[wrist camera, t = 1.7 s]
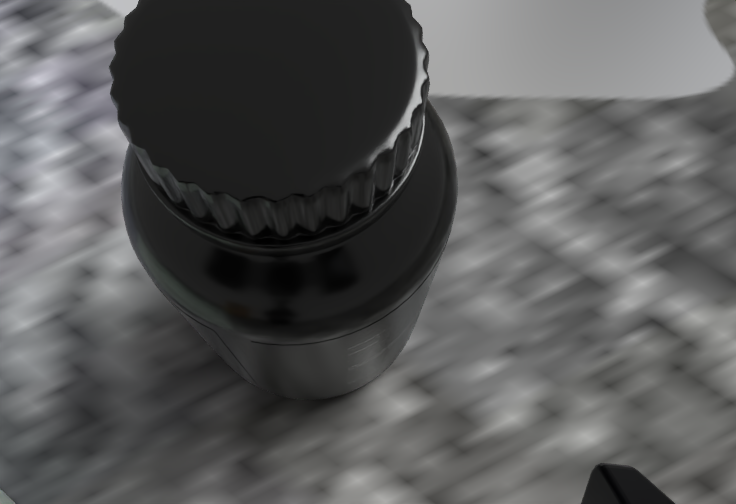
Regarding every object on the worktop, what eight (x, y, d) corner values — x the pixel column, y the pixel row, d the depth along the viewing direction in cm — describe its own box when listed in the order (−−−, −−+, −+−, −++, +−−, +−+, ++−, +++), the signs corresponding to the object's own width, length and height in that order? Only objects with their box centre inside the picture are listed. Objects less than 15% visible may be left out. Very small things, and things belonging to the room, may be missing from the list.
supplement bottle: (388, 184, 22) (441, -135, 11) (440, 376, 20) (576, 222, 9) (190, 221, 21) (25, -83, 10) (219, 426, 19) (49, 329, 8)
